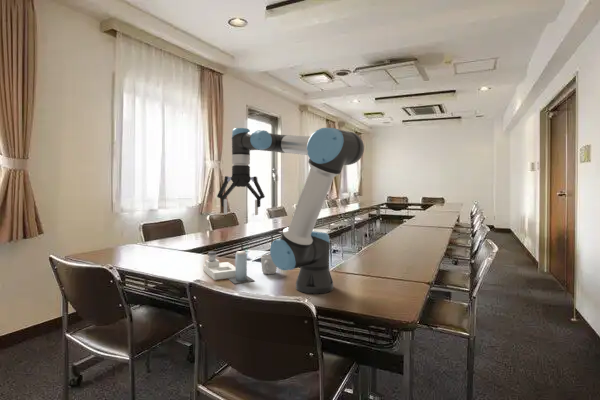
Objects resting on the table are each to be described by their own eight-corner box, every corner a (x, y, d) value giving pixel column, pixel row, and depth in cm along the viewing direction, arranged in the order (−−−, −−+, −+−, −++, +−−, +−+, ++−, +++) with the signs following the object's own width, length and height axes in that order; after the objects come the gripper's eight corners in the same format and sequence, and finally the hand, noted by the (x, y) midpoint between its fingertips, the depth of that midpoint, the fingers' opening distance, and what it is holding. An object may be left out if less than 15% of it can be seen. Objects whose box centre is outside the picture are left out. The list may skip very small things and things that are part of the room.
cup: (273, 277, 156) (273, 259, 155) (256, 276, 157) (256, 258, 157) (279, 271, 166) (279, 255, 166) (263, 270, 168) (263, 254, 168)
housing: (240, 276, 157) (240, 264, 157) (214, 279, 151) (214, 267, 151) (227, 267, 173) (227, 256, 172) (203, 270, 167) (203, 259, 166)
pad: (254, 281, 149) (254, 280, 149) (234, 284, 145) (234, 283, 145) (246, 276, 157) (246, 275, 157) (227, 279, 153) (227, 278, 152)
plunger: (217, 264, 163) (217, 252, 163) (209, 265, 162) (209, 253, 161) (214, 263, 166) (214, 251, 166) (207, 264, 165) (207, 252, 164)
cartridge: (245, 281, 148) (245, 253, 148) (234, 280, 149) (234, 252, 148) (247, 278, 153) (247, 251, 152) (237, 277, 153) (237, 250, 153)
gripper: (271, 165, 151) (271, 214, 152) (215, 165, 153) (215, 213, 154) (268, 164, 144) (268, 215, 145) (209, 164, 146) (209, 214, 147)
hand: (241, 214), depth 149 cm, fingers open, 13 cm apart
